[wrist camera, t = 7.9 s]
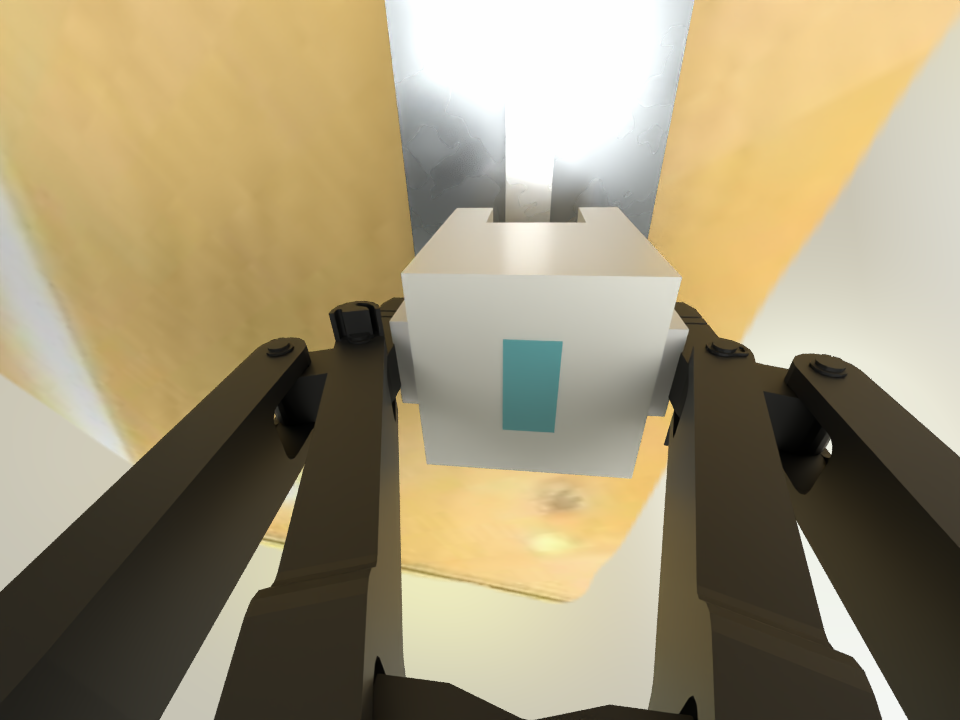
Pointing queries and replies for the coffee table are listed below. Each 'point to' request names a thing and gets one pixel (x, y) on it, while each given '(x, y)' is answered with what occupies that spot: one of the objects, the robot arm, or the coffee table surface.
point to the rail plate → (588, 104)
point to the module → (537, 341)
